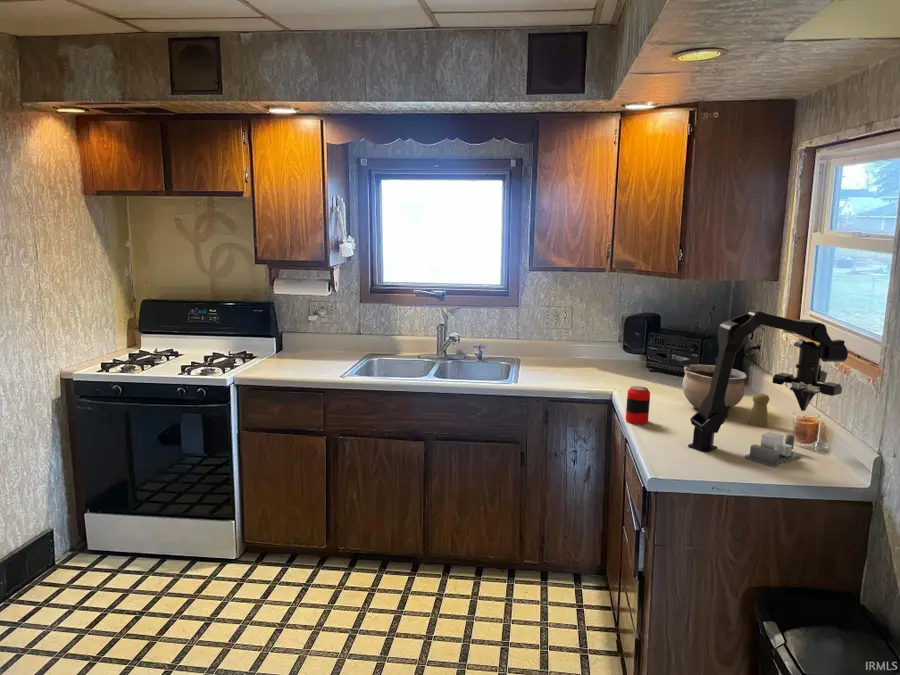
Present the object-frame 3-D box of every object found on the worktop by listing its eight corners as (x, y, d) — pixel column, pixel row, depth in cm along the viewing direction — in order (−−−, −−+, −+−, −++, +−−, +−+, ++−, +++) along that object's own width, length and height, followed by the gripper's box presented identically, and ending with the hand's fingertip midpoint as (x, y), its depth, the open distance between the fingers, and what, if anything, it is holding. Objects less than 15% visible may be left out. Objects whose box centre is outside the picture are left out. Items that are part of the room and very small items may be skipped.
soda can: (647, 425, 233) (650, 391, 231) (624, 423, 235) (627, 389, 233) (648, 419, 240) (650, 386, 238) (626, 417, 242) (628, 384, 240)
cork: (751, 420, 241) (754, 390, 239) (769, 424, 237) (773, 393, 235) (746, 424, 237) (749, 394, 234) (764, 428, 233) (768, 397, 231)
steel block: (772, 459, 201) (775, 438, 200) (759, 455, 204) (761, 434, 203) (781, 456, 204) (783, 435, 203) (768, 452, 207) (770, 431, 206)
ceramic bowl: (680, 398, 268) (683, 361, 265) (739, 404, 262) (743, 366, 259) (680, 414, 247) (684, 374, 244) (745, 421, 241) (750, 379, 238)
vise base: (774, 467, 197) (775, 454, 196) (744, 458, 204) (746, 445, 203) (799, 457, 206) (801, 444, 205) (770, 448, 213) (772, 436, 212)
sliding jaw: (786, 456, 203) (788, 443, 202) (763, 450, 208) (765, 437, 207) (802, 450, 208) (803, 438, 207) (779, 444, 214) (781, 431, 213)
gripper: (853, 364, 207) (846, 413, 209) (791, 353, 221) (786, 399, 224) (836, 368, 200) (829, 419, 203) (774, 357, 215) (768, 405, 217)
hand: (803, 410), depth 212 cm, fingers closed
